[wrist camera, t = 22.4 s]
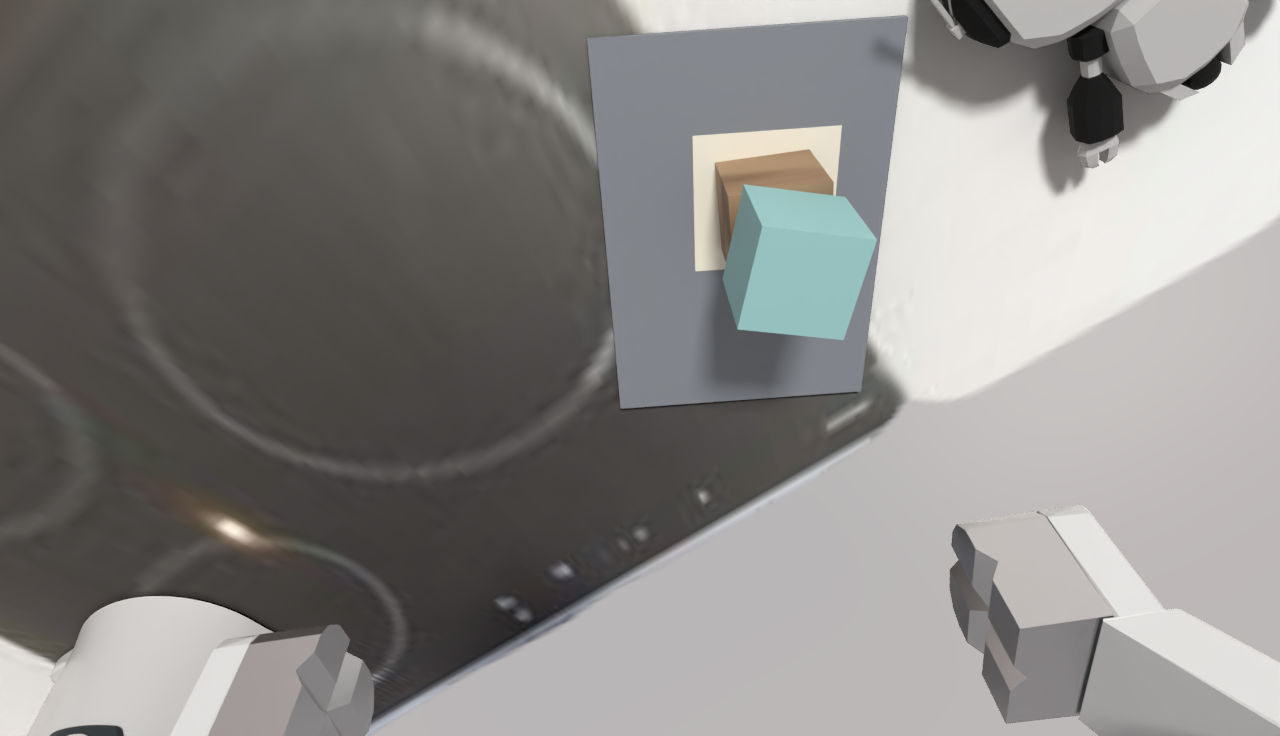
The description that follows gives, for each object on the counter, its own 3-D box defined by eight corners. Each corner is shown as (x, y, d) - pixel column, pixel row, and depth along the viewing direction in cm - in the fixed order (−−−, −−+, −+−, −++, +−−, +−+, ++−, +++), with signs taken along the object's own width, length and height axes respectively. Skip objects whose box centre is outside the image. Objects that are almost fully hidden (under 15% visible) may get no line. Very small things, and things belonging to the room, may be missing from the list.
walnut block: (809, 236, 38) (832, 276, 35) (721, 248, 39) (734, 289, 35) (809, 149, 36) (833, 181, 32) (715, 162, 36) (728, 196, 32)
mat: (858, 387, 44) (860, 391, 44) (620, 404, 44) (620, 409, 44) (904, 15, 33) (908, 17, 33) (587, 37, 33) (587, 40, 33)
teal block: (817, 289, 35) (843, 340, 31) (722, 279, 34) (737, 329, 31) (845, 196, 33) (877, 239, 29) (743, 184, 32) (762, 226, 28)
